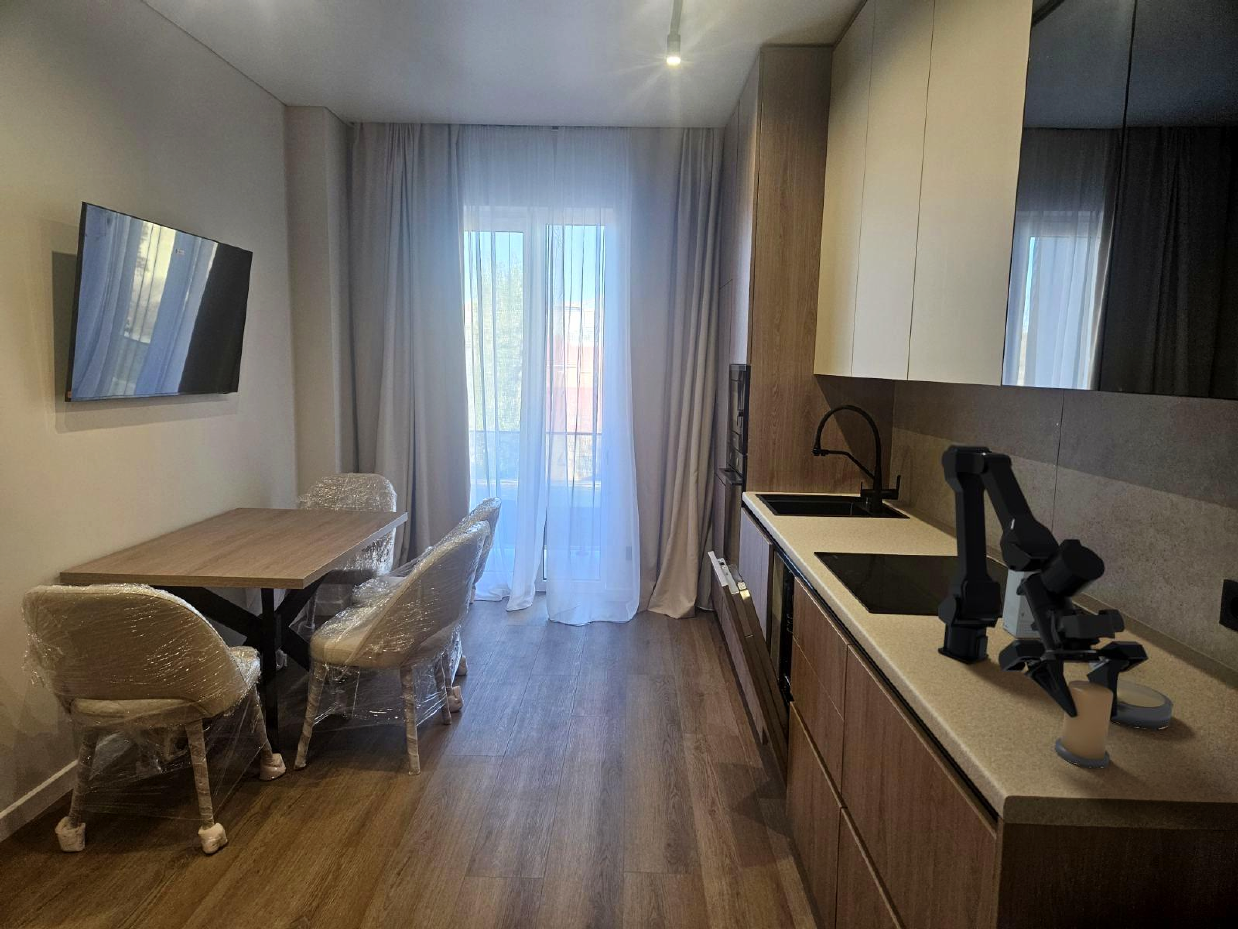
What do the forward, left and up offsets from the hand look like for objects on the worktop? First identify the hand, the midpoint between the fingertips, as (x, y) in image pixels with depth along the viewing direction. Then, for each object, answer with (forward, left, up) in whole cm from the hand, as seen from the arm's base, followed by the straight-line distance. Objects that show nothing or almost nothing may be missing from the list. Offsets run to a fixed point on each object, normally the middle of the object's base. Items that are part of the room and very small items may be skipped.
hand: (1094, 717), depth 98 cm
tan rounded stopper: (-1, +1, -7) cm, 7 cm away
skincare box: (-30, +40, -7) cm, 50 cm away
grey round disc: (-4, +21, -7) cm, 22 cm away
